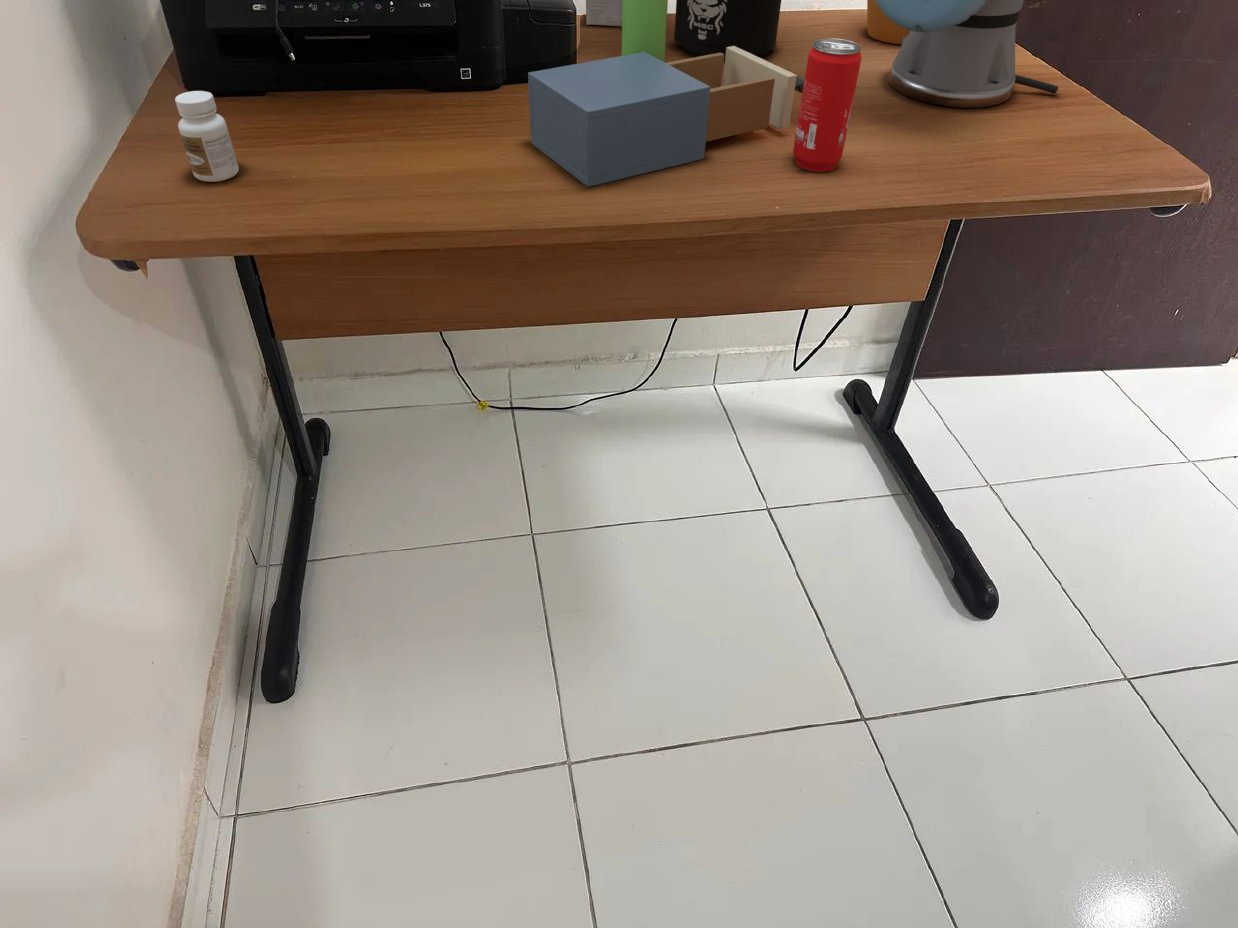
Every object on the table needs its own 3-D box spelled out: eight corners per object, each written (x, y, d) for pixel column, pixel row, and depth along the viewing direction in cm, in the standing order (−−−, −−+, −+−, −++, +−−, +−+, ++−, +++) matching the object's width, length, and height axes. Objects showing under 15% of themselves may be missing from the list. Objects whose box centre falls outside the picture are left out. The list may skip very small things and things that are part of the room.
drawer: (756, 90, 107) (762, 40, 103) (817, 121, 100) (826, 68, 96) (635, 116, 100) (637, 63, 96) (692, 151, 93) (696, 96, 89)
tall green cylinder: (667, 94, 108) (675, -42, 98) (656, 109, 104) (662, -31, 94) (627, 89, 109) (631, -46, 99) (615, 103, 106) (617, -35, 95)
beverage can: (792, 152, 96) (810, 36, 88) (839, 156, 95) (862, 39, 87) (790, 171, 92) (810, 52, 84) (840, 176, 91) (864, 56, 83)
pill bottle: (186, 174, 89) (160, 96, 83) (225, 161, 91) (203, 85, 86) (207, 187, 86) (182, 108, 81) (247, 174, 89) (226, 97, 84)
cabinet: (642, 120, 102) (644, 51, 97) (704, 159, 94) (710, 86, 89) (531, 144, 96) (527, 72, 91) (587, 187, 88) (587, 112, 83)
